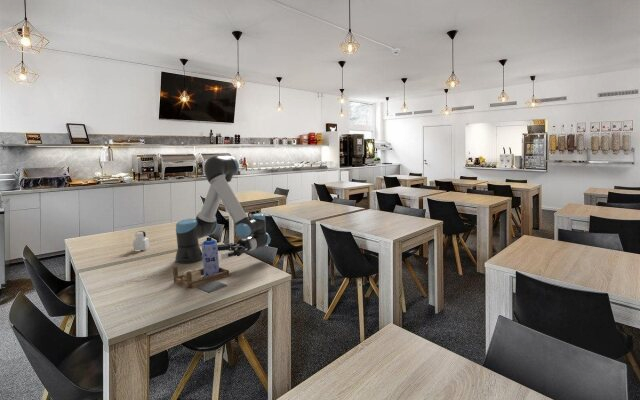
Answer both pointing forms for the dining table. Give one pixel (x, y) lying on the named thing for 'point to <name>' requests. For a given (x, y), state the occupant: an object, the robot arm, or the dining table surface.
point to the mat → (212, 286)
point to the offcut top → (193, 274)
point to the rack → (190, 284)
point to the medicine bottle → (141, 241)
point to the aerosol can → (210, 257)
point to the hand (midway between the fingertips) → (213, 254)
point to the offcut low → (193, 279)
